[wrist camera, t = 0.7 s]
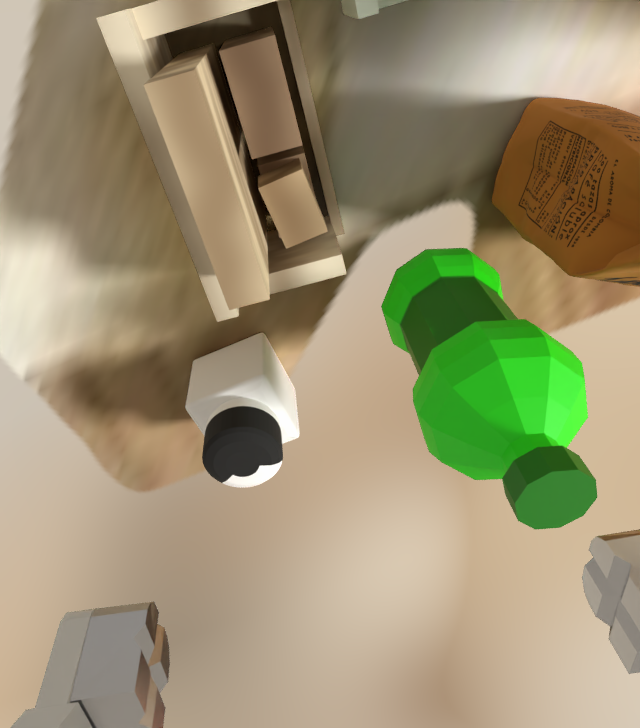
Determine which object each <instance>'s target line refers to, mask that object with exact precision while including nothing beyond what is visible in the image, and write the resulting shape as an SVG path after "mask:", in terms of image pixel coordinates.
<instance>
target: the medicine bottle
mask: <svg viewBox="0 0 640 728" xmlns="http://www.w3.org/2000/svg"><path fill="white" fill-rule="evenodd" d="M185 408H186V410H187V412H188V413H189V415H190V416H191V417H192V419H193V420H194V422H195V423H196V424H197V426H198V427H199V429H200V430H201V432H202V433H203V434H204V436H205V437H204V446H203V456H202V459H203V464H204V467H205V469H206V470H207V472H208V473H209V474H210V475H211V476H212V477H214V478H215V479H216V480H218V481H219V482H221V483H223V484H226V485H229V486H233V487H251V486H255V485H258V484H261V483H263V482H265V481H267V480H268V479H270V478H271V477H272V476H274V475H275V473H276V472H277V471H278V470H279V468H280V466H281V464H282V459H283V452H282V444H283V443H286V442H288V441H291V440H294V439H296V438H298V437H299V424H298V414H297V403H296V393H295V388H294V386H293V385H292V382H291V381H290V379H289V377H288V375H287V373H286V372H285V370H284V368H283V366H282V364H281V362H280V361H279V359H278V357H277V355H276V353H275V351H274V350H273V348H272V346H271V344H270V342H269V341H268V339H267V337H266V335H265V334H264V333H259V334H256V335H254V336H251V337H249V338H246V339H244V340H242V341H239V342H237V343H234V344H232V345H229V346H227V347H225V348H222V349H220V350H217V351H215V352H212V353H210V354H207V355H205V356H203V357H200V358H198V359H195V360H194V361H193V363H192V369H191V375H190V381H189V387H188V392H187V398H186V404H185Z"/></svg>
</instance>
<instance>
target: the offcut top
mask: <svg viewBox="0 0 640 728" xmlns="http://www.w3.org/2000/svg"><path fill="white" fill-rule="evenodd" d="M258 189H259V191H260V193H261V196H262V198H263V200H264V202H265V204H266V206H267V209H268V211H269V213H270V215H271V217H272V219H273V221H274V224H275V226H276V228H277V230H278V232H279V234H280V236H281V239H282V241H283V243H284V245H285V247H286V249H287V248H290V247H292V246H295V245H297V244H299V243H302V242H304V241H306V240H309V239H311V238H314V237H316V236H318V235H321V234H323V233H325V232H328V230H327V227H326V224H325V220H324V217H323V215H322V212H321V210H320V207H319V205H318V203H317V200H316V198H315V195H314V193H313V190H312V188H311V186H310V183H309V181H308V178H307V176H306V173H305V171H304V169H303V166H302V164H301V161H300V159H299V158H298V159H296V160H294V161H291V162H289V163H287V164H285V165H282V166H280V167H278V168H276V169H273V170H271V171H269V172H267V173H264V174H262V175H260V176H258Z"/></svg>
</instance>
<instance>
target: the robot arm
mask: <svg viewBox="0 0 640 728" xmlns="http://www.w3.org/2000/svg"><path fill="white" fill-rule="evenodd" d="M589 551H590V552H591V554H592V556H593V558H592V559H591V560H590V561H589V562H588V563H587V564H586V565H585V567H584V571H583V576H582V580H583V586H584V592H585V595H586V598H587V600H588V603H589V605H590V607H591V609H592V610H593V612H594V614H595V616H596V617H598V618H599V619H600V620H602V621H603V622H605V623H606V624H608V625H609V626H610V633H609V640H610V642H611V643H612V645H613V647H614V649H615V650H616V652H617V654H618V656H619V657H620V659H621V661H622V663H623V664H624V666H625V668H626V669H627V671H628V673H629V674H630V673H638V672H640V529H639V530H634V531H627V532H621V533H615V534H609V535H603V536H597V537H595V538H594V539H593V540H592V541H591V544H590V548H589ZM158 614H159V612H158V609H157V607H156V605H155V602H154V601H153V602H145V603H137V604H129V605H121V606H114V607H106V608H98V609H97V608H96V609H89V610H82V611H75V612H67V613H66V614H65V616H64V617H63V619H62V620H61V622H60V625H59V628H58V631H57V635H56V638H55V642H54V645H53V648H52V652H51V655H50V659H49V662H48V666H47V669H46V672H45V676H44V679H43V682H42V686H41V690H40V693H39V696H38V699H37V703H36V706H35V708H33V709H28V710H25V712H24V713H23V714H22V715H21V717H19V718H18V720H17V721H16V722H15V723H14V724H13V725H12V727H11V728H163V724H164V714H165V706H164V703H163V701H162V698H161V695H160V692H161V691H162V689H163V688H164V687H165V685H166V684H167V683H168V677H169V666H170V660H169V659H170V658H169V643H168V638H167V634H166V631H165V628H164V627H162V626H161V625H159V624H157V623H158Z"/></svg>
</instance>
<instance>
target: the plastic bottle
mask: <svg viewBox="0 0 640 728" xmlns="http://www.w3.org/2000/svg"><path fill="white" fill-rule="evenodd" d="M381 307H382V310H383V313H384V317H385V320H386V323H387V327H388V330H389V333H390V336H391V339H392V341H393V344H395V345H396V346H398V347H399V348H401V349H403V350H404V351H406V352H408V353H409V354H410V355H411V357H412V360H413V362H414V365H415V367H416V369H417V372H418V374H419V377H418V379H417V381H416V384H415V386H414V388H413V402H414V406H415V409H416V412H417V416H418V419H419V422H420V425H421V429H422V432H423V435H424V439H425V441H426V444H427V447H428V450H429V452H430V453H431V454H432V455H434V456H435V457H436V458H437V459H438V460H440V461H441V462H442V463H444V464H446V465H448V466H450V467H452V468H454V469H456V470H458V471H459V472H461V473H463V474H465V475H467V476H469V477H471V478H473V479H475V480H486V479H503V484H504V490H505V494H506V497H507V499H508V501H509V503H510V505H511V507H512V509H513V511H514V513H515V515H516V517H517V519H518V521H520V522H522V523H524V524H526V525H528V526H530V527H532V528H534V529H546V528H559V527H562V526H564V525H566V524H568V523H570V522H572V521H574V520H575V519H578V518H579V517H581V516H583V515H584V514H585V513H586V511H587V510H588V509H589V507H590V506H591V505H592V504H593V502H594V501H595V500H596V498H597V489H596V480H595V478H594V477H593V476H592V474H591V473H590V471H589V470H588V468H587V467H586V465H585V464H584V462H583V461H582V459H581V458H580V456H579V455H577V454H575V453H574V452H572V451H571V450H569V449H567V446H568V445H569V444H570V442H571V441H572V439H573V438H574V436H575V435H576V434H577V432H578V431H579V429H580V428H581V426H582V425H583V423H584V422H585V421H586V419H587V418H588V415H587V402H586V390H585V380H584V373H583V367H582V363H581V361H580V360H579V359H578V358H577V357H576V356H575V355H574V353H573V352H572V351H570V350H569V349H568V348H566V347H565V346H564V345H562V344H561V343H559V342H558V341H556V340H555V339H554V338H552V337H551V336H549V335H548V334H547V333H545V332H544V331H542V330H541V329H540V328H538V327H537V326H535V325H534V324H532V323H530V322H529V321H527V320H525V319H520V320H518V319H517V317H516V316H515V315H514V314H513V312H512V311H511V310H510V309H509V307H508V306H507V305H506V303H505V302H504V301H503V295H502V289H501V283H500V277H499V274H498V273H497V272H496V270H495V269H494V268H492V267H491V266H490V265H488V264H487V263H486V262H484V261H483V260H482V259H480V258H479V257H478V256H476V255H475V254H473V253H472V252H471V251H469V250H468V249H466V248H453V249H427V250H424V251H423V252H421V253H420V254H419V255H417V256H416V257H414V258H413V259H411V260H410V261H408V262H407V263H406V264H404V265H403V266H401V267H400V268H398V269H397V270H396V272H395V275H394V277H393V279H392V282H391V284H390V287H389V289H388V291H387V294H386V296H385V299H384V301H383V304H382V306H381Z"/></svg>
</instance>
